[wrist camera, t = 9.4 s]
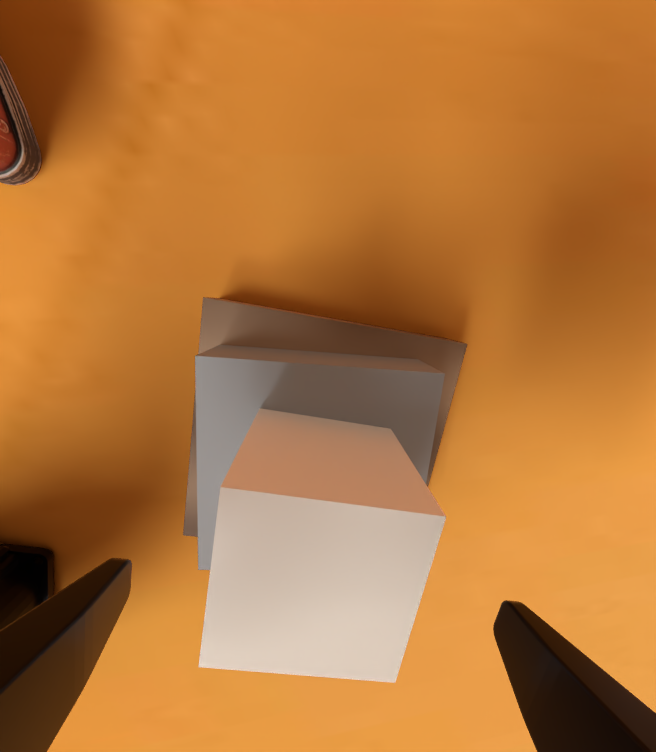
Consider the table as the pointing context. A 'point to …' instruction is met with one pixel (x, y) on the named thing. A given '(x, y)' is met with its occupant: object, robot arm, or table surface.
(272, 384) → the top block
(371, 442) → the cube
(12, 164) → the lighter
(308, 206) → the table surface
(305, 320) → the base block
